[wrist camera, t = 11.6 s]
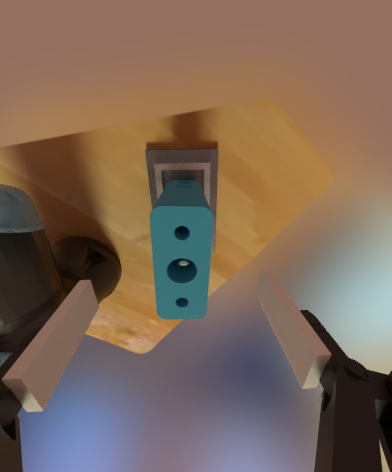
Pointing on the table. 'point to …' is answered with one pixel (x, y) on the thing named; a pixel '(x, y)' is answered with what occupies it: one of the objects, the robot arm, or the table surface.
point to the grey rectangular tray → (184, 173)
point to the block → (181, 250)
